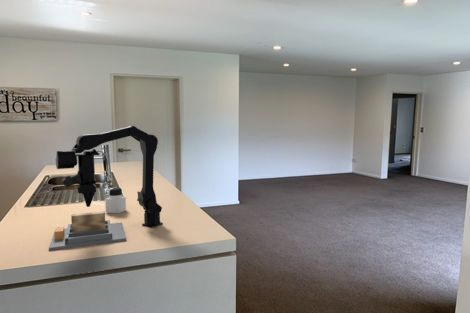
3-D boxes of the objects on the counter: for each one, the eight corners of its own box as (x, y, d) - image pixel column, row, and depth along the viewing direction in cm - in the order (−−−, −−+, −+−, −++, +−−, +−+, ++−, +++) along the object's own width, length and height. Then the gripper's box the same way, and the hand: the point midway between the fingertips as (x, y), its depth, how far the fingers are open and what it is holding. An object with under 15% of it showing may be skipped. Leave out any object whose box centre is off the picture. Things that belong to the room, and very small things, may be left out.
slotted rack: (121, 224, 148) (121, 215, 148) (126, 240, 128) (126, 230, 128) (55, 231, 138) (54, 222, 138) (48, 250, 118) (48, 239, 118)
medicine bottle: (126, 210, 172) (125, 187, 171) (118, 213, 166) (117, 189, 164) (114, 209, 174) (113, 186, 173) (105, 212, 168) (104, 189, 166)
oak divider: (105, 230, 137) (104, 211, 136) (105, 232, 134) (104, 213, 133) (72, 234, 132) (71, 214, 131) (72, 236, 129) (71, 216, 128)
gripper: (65, 165, 136) (67, 203, 137) (61, 171, 119) (63, 214, 120) (95, 164, 140) (96, 200, 142) (95, 169, 123) (96, 211, 124)
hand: (88, 206), depth 132 cm, fingers closed
